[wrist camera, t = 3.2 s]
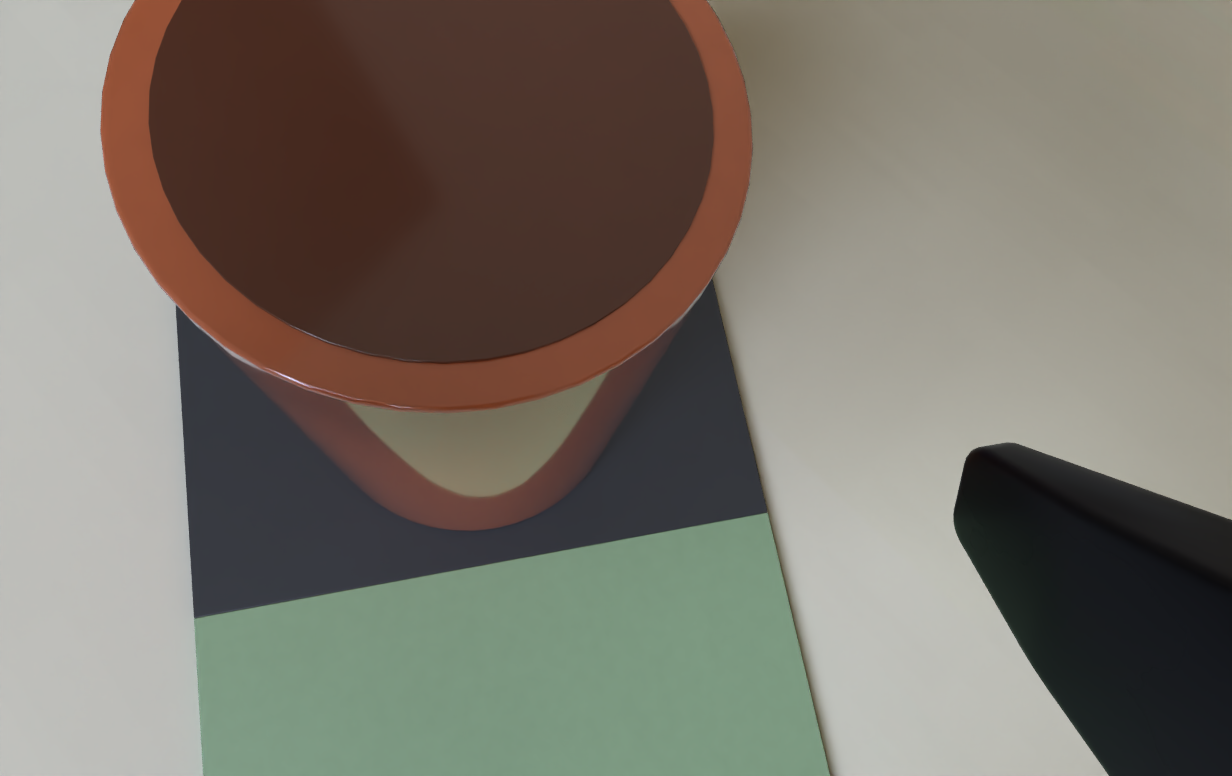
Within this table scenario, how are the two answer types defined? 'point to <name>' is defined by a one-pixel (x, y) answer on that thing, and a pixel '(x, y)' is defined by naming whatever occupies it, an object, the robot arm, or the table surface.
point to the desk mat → (494, 601)
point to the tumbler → (434, 219)
